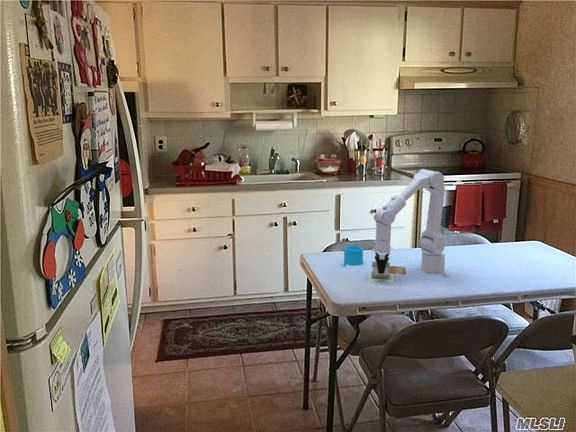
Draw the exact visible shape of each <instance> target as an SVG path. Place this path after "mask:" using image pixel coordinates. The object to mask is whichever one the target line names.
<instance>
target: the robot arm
mask: <svg viewBox="0 0 576 432" xmlns="http://www.w3.org/2000/svg"><path fill="white" fill-rule="evenodd" d="M444 183H445V176H444V175H443V174H442V173H441V171H437V170H436V171H434V170H428V169H426V168H422V169H419V170H418V171H417V173H415V174H414V176H413V179H412V180H411V181H410V183H409V184H407V186H406V187H405V188H404V189H403V191H402V192H401V193H400V194H397V195H396V194H395V195H393V196H392V197H391V198H390V200H389V201H388V202H387V203H385V204H384V205H383V207H382V208H378V209H377V210H376V211H375V213H374V215H373V220H374V221H375V226H376V227H375V242H374V243H375V245H374V247H375V248H372V249H371V251H372V252H375V253H374V254H375V256H374V259H375V260H374V261H375V262H377V267H378V273H379V274H384V272H385V268H386V264H387V262H388V263H389V261H390V257H389V256H390V253H391V236H392V224H393V223H394V222H395V219H396V216H397V215H398V214H399V213H400V212H401V211H402V210H403V209H404V208H405V207H406V205H407V203H406V202H407V201H408V200H409V199H410V198H411V197H412V196H414V194H415V193H417V192H419V190H420V189H426V190H428V192H429V193H430V194H429V204H428V212H427V218H426V219H427V220H426V229H425V230H424V231H422V233H421V236H420V239H419V241H418V245H419V246H418V247H419V248H420V251H421V265H420V270H421V271H422V272H424V273H427V274H429V273H430V274H442V275H443V277H444V276H445V265H446V255H445V253H443V252H444V251H445V242H444V239H445V237H444V235H443V234H442V232H441V225H442V216H443V208H444V202H445V201H444V198H445V191H446V189H445V188H446V187H445V184H444Z"/></svg>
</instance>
